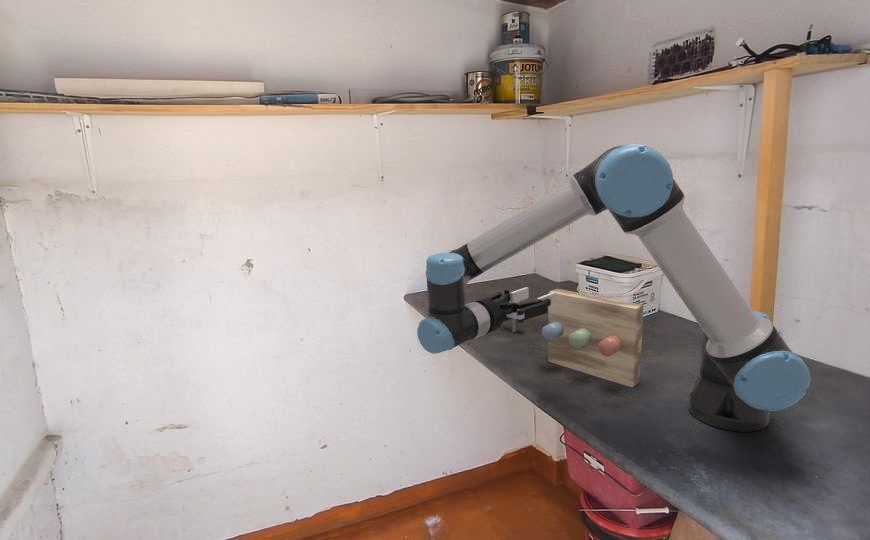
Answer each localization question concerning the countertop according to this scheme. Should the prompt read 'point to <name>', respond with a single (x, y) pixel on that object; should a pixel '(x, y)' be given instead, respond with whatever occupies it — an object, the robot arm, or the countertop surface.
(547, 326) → the slate blue button
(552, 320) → the button panel
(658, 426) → the countertop surface
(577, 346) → the sage green button
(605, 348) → the brick red button
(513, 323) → the mechanical component
